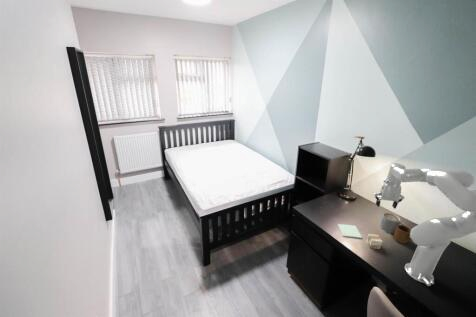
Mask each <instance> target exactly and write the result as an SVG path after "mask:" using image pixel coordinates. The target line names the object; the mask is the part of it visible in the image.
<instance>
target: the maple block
mask: <svg viewBox="0 0 476 317" xmlns="http://www.w3.org/2000/svg"><path fill="white" fill-rule="evenodd" d="M365 242H366V244H367V246H368V247H369V248H370V249H375V250H381V247H382V244H383V240H382V239H381V237H380V236H379V234H373V233H368V234H367V236H366V239H365Z"/></svg>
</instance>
